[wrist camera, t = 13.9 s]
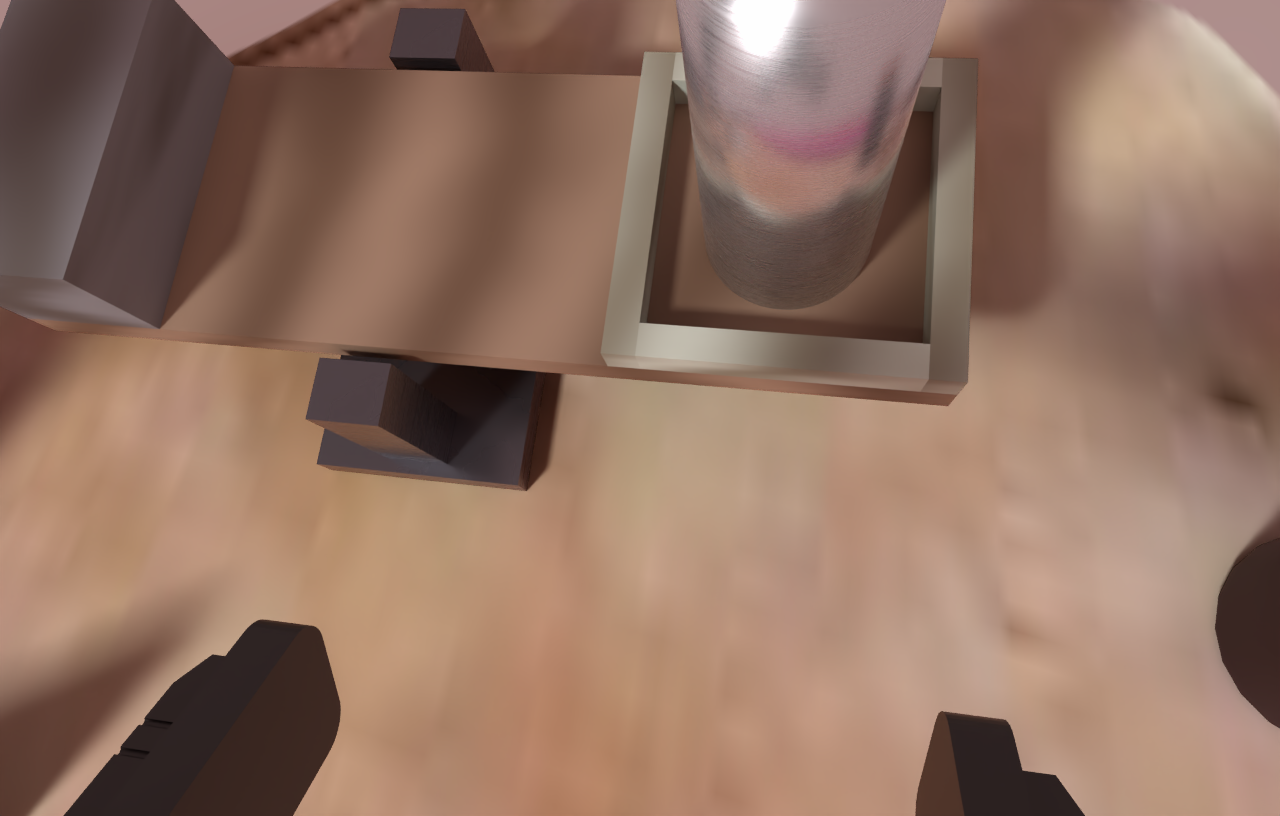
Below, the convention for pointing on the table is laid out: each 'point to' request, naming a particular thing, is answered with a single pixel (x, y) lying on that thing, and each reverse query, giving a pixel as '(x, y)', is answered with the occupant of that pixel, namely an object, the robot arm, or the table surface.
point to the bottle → (1253, 628)
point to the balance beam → (439, 215)
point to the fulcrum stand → (424, 391)
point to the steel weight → (798, 133)
